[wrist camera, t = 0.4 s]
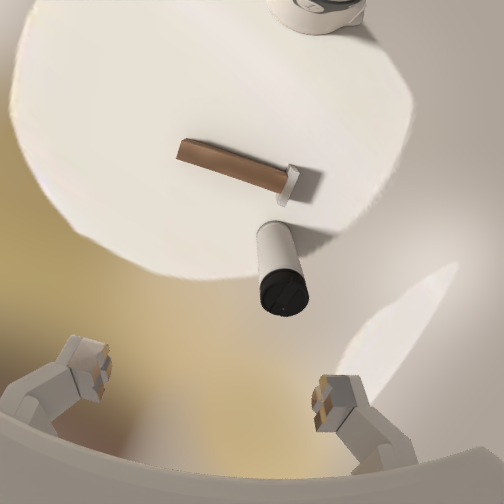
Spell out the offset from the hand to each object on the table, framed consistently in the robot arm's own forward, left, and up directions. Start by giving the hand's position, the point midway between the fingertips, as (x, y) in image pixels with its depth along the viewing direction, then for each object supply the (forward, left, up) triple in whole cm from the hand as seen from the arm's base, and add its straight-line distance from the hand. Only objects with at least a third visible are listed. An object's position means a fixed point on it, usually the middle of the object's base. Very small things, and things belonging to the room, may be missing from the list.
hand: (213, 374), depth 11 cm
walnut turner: (+1, -1, -44) cm, 44 cm away
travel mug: (+11, +10, -44) cm, 46 cm away
